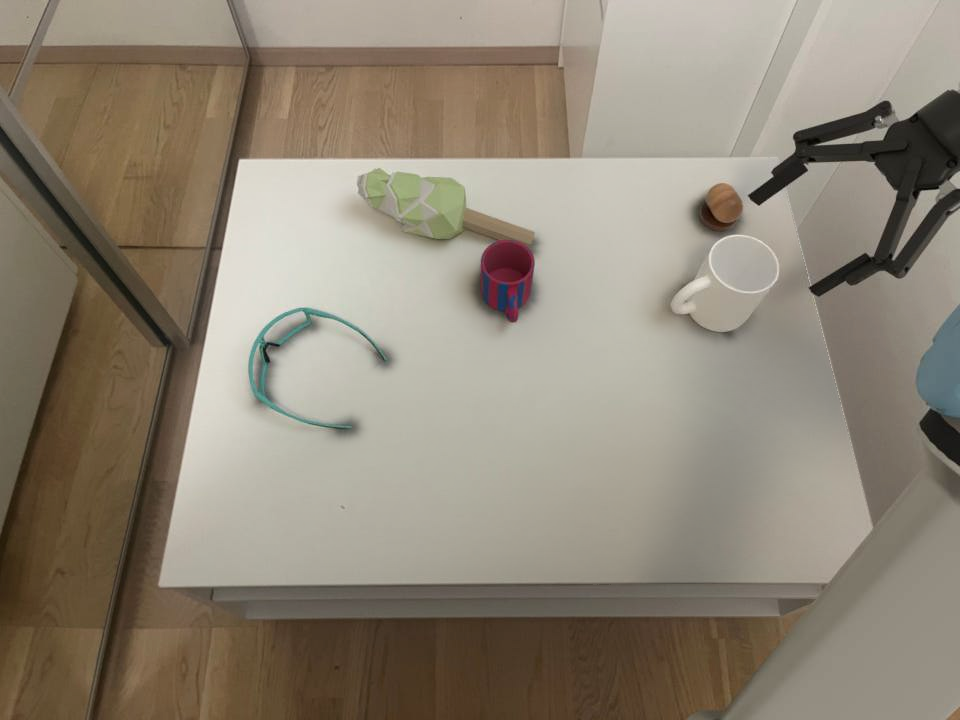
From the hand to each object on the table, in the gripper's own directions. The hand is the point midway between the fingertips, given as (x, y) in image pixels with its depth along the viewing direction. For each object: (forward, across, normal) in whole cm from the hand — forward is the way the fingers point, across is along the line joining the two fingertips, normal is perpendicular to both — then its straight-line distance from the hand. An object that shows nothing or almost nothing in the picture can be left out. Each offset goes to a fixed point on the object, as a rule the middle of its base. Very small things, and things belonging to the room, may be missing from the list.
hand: (781, 245), depth 78 cm
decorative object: (+32, +24, +15) cm, 43 cm away
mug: (+13, 0, -4) cm, 14 cm away
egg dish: (+6, +13, -11) cm, 18 cm away
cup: (+30, +10, +13) cm, 34 cm away
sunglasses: (+48, +8, +31) cm, 58 cm away
